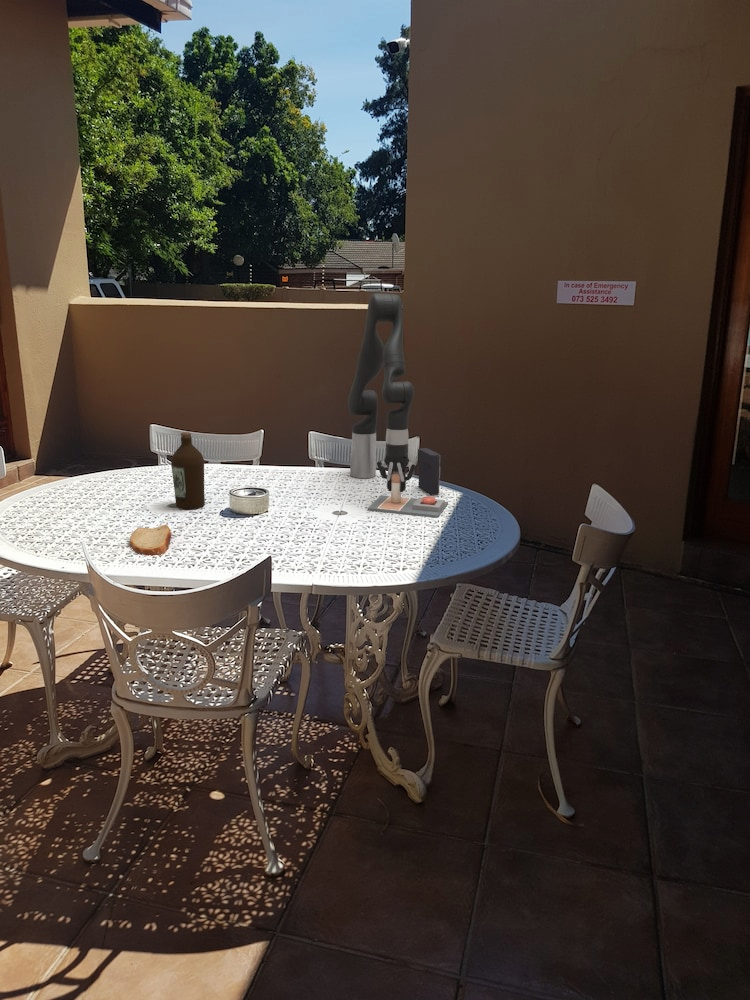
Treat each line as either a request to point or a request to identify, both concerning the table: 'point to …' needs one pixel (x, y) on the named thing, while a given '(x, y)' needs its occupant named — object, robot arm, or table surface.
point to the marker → (395, 487)
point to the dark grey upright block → (429, 471)
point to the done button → (428, 500)
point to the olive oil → (188, 475)
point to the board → (408, 506)
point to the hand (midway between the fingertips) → (396, 490)
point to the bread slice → (151, 540)
